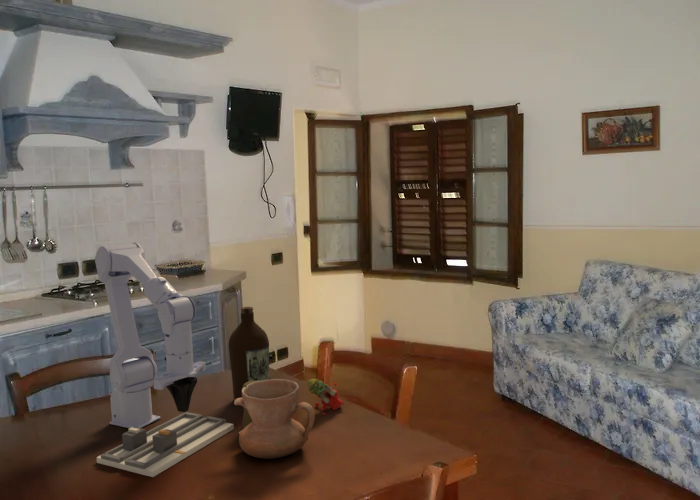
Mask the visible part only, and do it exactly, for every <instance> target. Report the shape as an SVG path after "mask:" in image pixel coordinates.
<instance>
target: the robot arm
mask: <svg viewBox="0 0 700 500" xmlns="http://www.w3.org/2000/svg"><path fill="white" fill-rule="evenodd" d="M95 253H96V254H95V257H94V262H95V267H96V272H97V276H98V280H99V282H101V283H104V287H105V291H106V297H107V301H108V307H109V310H110V315H111V320H112V325H113V329H114V334H115V339H116V344H117V351H116V353H115V354H114V355H112V357H111V358H110V360H109V361H108V362H109V378H110V379H109V380H110V383H111V385H112V386H113V390H112V392H111V394H110V412H111V421H109V424H110V425H113V426H117V427H122V428H127V429H129V428H131V427H133V428H136V427H138V428H142V429H143V427H146V426H147V425H150V424H151V423H153V422H156V421H158V420H159V419H161V416H160V415H155V414H153V406H152V405H153V404H152V393H151V386H153V389H154V390H158V391H162V390H164V389H165V387H166V389H167V390H168V391H169V393H170V394H171V397H172V398H173V401H174V404H175V406H176V409H177V412H181V413H185V412H189V409H190V404H191V400H192V395H193V392H194V389H195V387H196V386H197V384H198V378H197V377H195V376H198V373H200V372H205V371H207V364H206V362H205V361H199V360H198V361H197V362H194V353H193V352H194V349H193V334H192V322H193V320H194V319H195V318H196V314H197V308H196V303H195V301H194V300H193V299H192V297H191V296H190V295H187V294H186V295H184V294H183V293H182V294H180V293H179V292H178V291H177V290H176V289H175V288H174V287H173V285H172V284H170V282H169V281H168V280H167V279H166V277H163V276H157V275H156V274H155V272H154V271H153V269H152V268H151V267H150V265H149V264H148V263H147V261H146V258H145V257H146V255H145V251H144V249H143V247H142V246H141V244H139V243H138V242H132V243H126V244H123V243H122V244H115V245H101V246H98V248H97V251H96V252H95ZM133 277H134V279H135V280H137V281H138V282H139V283H140V284H141V285H142V286H143V287H144V288H143V294H144V296H145V297H146V298H147V299H148V301H149V302H150V303H151V304H152V306H154V308H156V309H157V317H158V319H159V322H160V324H161V331H162V333H163V334H164V341H165V342H164V344H165V345H164V346H165V357H166V358H165V359H166V360H165V361H166V371H165V372H163V374H161V375H160V376H159V377H157V374H158V366H157V364H156V362H155V360H154V358H153V354H152V351H151V350H149V349H147V348H145V347H144V346H142V345H141V342H140V339H139V334H138V330H137V324H136V320H135V315H134V310H133V305H132V300H131V296H130V292H129V287H128V282H129V280H130V279H131V278H133ZM133 359H134V360H133ZM129 360H130V361H129ZM126 361H127V362H126Z"/></svg>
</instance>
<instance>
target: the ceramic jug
mask: <svg viewBox="0 0 700 500" xmlns="http://www.w3.org/2000/svg"><path fill="white" fill-rule="evenodd" d="M299 387H300V386H299V384H298V383H297V382H296V381H293V380H289V379H284V378H273V379H272V378H270V379H269V380H262V381H257V382H253V383H250V384H248V385H247V386H246V387H244V388H243V389H242V398H237V399H236V400H235V401H234V400H233V401H234V402H233V404H234V405H235V406H241V407H243V409H244V408H246V409H247V410H248V413H249V415H250V417H251V419H252V421H253V422H252V423H250V424H249V425H247V426H246V427H245V428H244V429H243V428H242V429H241V430H240V431H239V432H238V436H239V437H238V444H239V446H240V448H241V449H242V451H243V452H244V453H246V454H247V455H249V456H250V457H251V456H252V457H254V458H258V459H267V460H271V459H278V458H279V459H280V458H282V457H287V456H289V455H291V454H294V453H296V452H298V451H299V450H300V449H302V447H303V446H304V445H305V444H306V442H308V440H309V433H310V432H311V431H312V430H311V429H312V428H313V427H314V424H315V423H314V422H315V416H316V415H315V410H314V408H313V406H312V405H311V404H310V403H308V402H305V401H301V402H300V401H299V402H298V400H299V399H298V398H299V390H300V389H299ZM297 402H298V403H297ZM299 410H305V411H306V413H307V424H306V427H304V426H303V424H302V423H300V422H299V421H297V420H296V419H294V418H292V417H293V415H294V414H295V413H296V412H297V411H299Z"/></svg>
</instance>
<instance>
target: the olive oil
mask: <svg viewBox="0 0 700 500" xmlns="http://www.w3.org/2000/svg"><path fill="white" fill-rule="evenodd" d="M254 316H255V315H254V307H253V306H243V307H240V323H239V324H238V326H237V327H236V328H235V329H234V330H233V331H232V332H231V334H230V336H229V340H228V352H229V361H230V371H231V379H232V392H233V401H235V400H236V399H237V398H242V387H243V385H244V384H245V383H246V382H249V381H262V380H269V379H270V380H271V378H270V340H269V338H268V335H267V333H266V331H265V330H264V329H263V328H262V327H261V326H259V324H257V323H256V321H255V317H254Z"/></svg>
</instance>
